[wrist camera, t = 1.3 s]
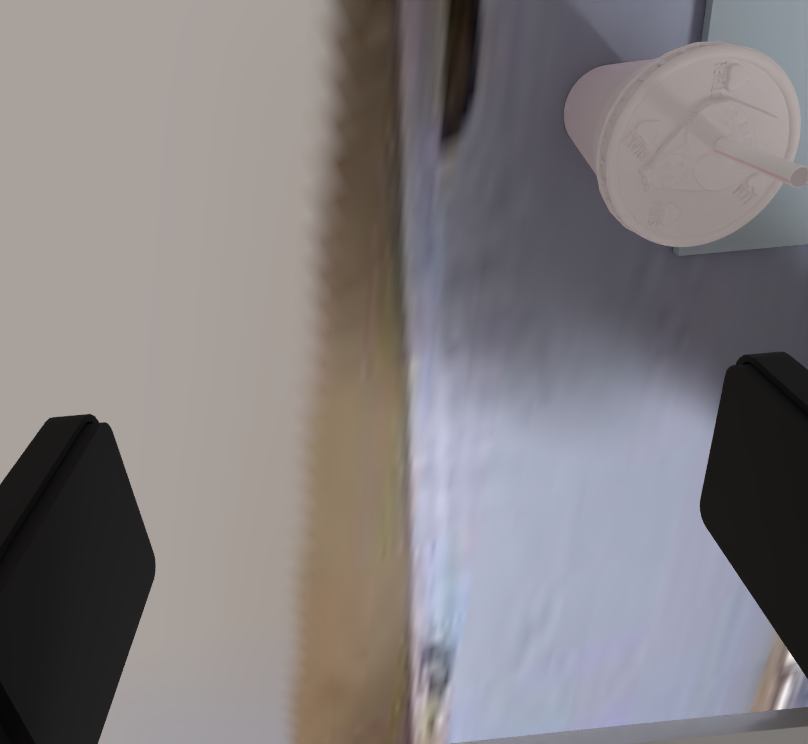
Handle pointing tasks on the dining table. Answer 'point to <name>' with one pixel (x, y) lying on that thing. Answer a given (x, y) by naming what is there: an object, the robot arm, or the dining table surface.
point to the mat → (804, 65)
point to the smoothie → (688, 139)
